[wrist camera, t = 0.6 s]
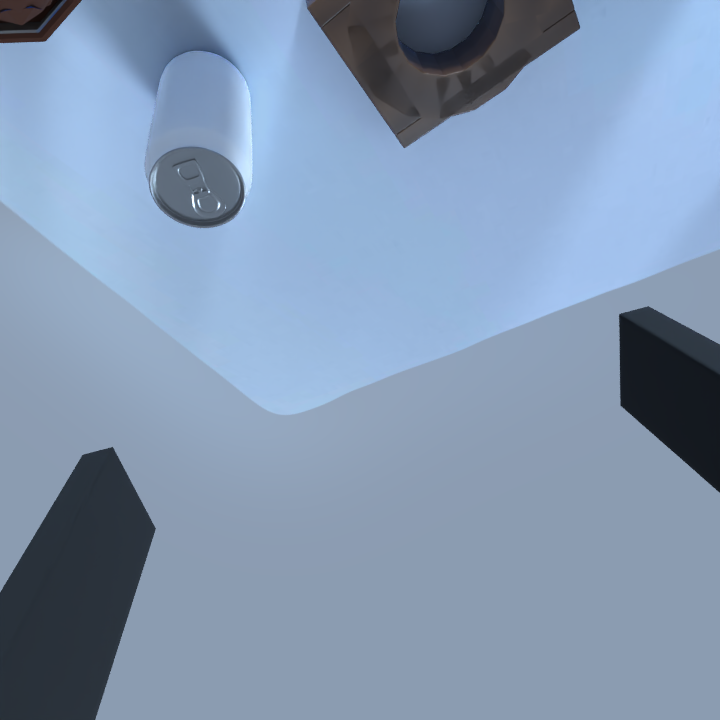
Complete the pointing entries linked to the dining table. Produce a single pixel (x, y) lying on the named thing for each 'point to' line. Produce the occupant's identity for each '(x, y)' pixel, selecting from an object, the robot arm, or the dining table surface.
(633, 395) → the robot arm
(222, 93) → the can
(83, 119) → the dining table surface
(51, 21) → the ice cream bowl
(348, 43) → the holder
